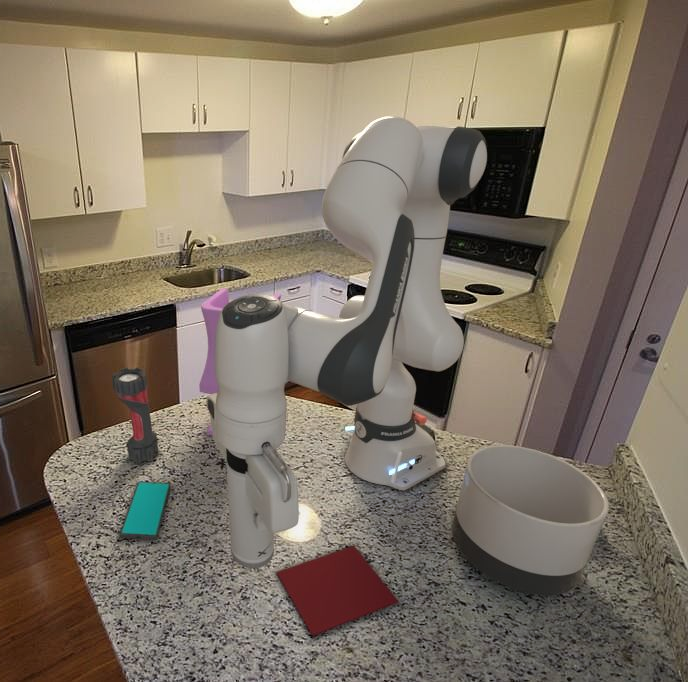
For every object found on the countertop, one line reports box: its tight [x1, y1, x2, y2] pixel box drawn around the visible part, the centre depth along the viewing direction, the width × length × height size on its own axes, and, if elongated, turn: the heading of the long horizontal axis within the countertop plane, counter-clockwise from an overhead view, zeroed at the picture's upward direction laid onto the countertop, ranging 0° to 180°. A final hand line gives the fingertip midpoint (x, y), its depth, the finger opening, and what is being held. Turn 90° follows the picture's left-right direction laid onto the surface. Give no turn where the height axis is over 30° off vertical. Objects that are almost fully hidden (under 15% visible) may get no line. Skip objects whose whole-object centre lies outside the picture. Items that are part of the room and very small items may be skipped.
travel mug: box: [225, 448, 275, 569], centre depth 64 cm, size 6×7×20 cm
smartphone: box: [119, 481, 171, 541], centre depth 96 cm, size 7×1×15 cm
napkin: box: [276, 545, 399, 637], centre depth 79 cm, size 16×12×1 cm
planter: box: [451, 444, 610, 597], centre depth 80 cm, size 19×19×18 cm
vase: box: [198, 287, 282, 436], centre depth 116 cm, size 16×16×35 cm
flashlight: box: [111, 366, 160, 464], centre depth 108 cm, size 8×8×23 cm
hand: (250, 506), depth 65 cm, fingers closed on travel mug, 6 cm apart
